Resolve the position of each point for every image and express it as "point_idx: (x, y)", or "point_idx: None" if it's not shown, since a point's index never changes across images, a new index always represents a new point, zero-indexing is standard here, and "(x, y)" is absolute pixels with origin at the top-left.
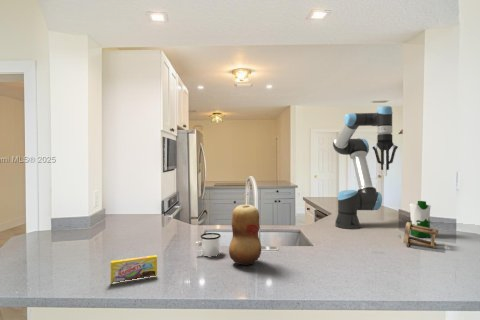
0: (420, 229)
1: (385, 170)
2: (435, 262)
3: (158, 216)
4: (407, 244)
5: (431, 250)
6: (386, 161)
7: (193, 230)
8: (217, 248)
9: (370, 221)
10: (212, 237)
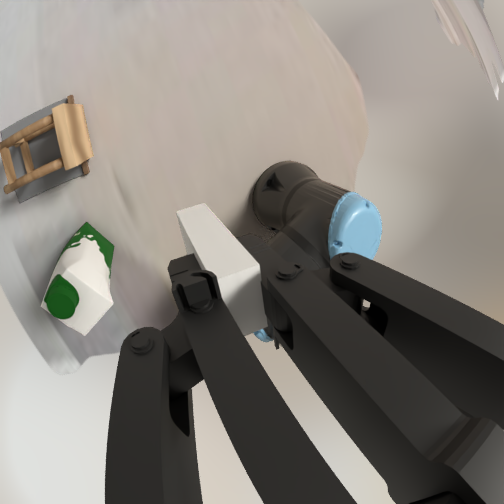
0: (28, 126)
1: (197, 233)
2: (10, 42)
3: (490, 76)
4: (70, 99)
5: (22, 119)
6: (227, 323)
7: (443, 12)
8: None
9: None
10: None
